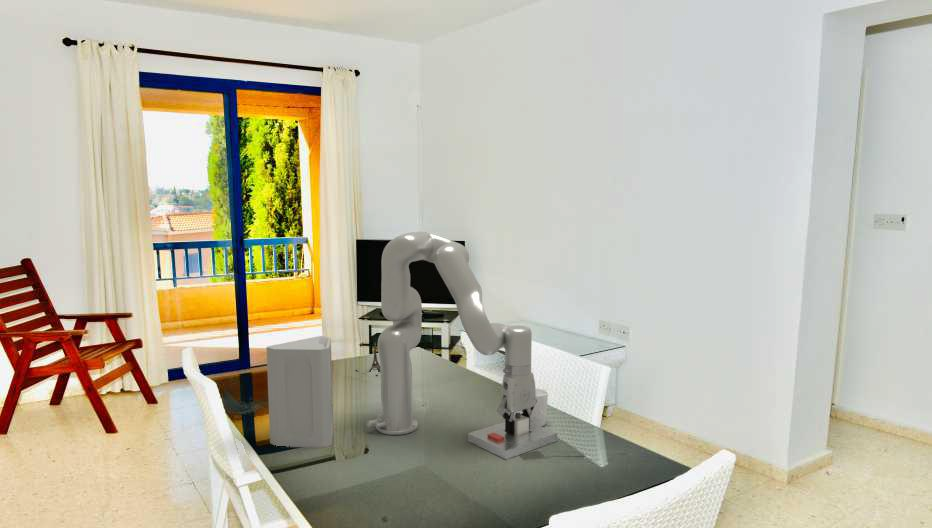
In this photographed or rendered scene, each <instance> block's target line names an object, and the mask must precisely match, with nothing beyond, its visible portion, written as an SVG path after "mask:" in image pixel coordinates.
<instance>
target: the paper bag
mask: <svg viewBox="0 0 932 528" xmlns="http://www.w3.org/2000/svg"><path fill="white" fill-rule="evenodd" d="M332 361H333V360H332V338H331V337H329V336H326V335H318V336H313V337H308V338H303V339H298V340H294V341H287V342H284V343H278V344H273V345H268V346H266V367H267V368H266V369H267V372H266V373H267V392H268V393H267V394H268V395H267V396H268V423H269V425H268V426H269V443H270V445H273V446H275V445H276V446H275V447H277V446H286V447H285V448H321V449H322V448H325V447H329V446H332V445H333V434H334V410H333V409H334V405H333V403H334V402H333V372H332V371H333V369H332V367H333V366H332V363H333V362H332ZM289 446H290V447H289Z"/></svg>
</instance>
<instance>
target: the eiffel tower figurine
mask: <svg viewBox="0 0 932 528" xmlns="http://www.w3.org/2000/svg"><path fill="white" fill-rule="evenodd" d="M373 346H374V351H373V361H372V363H371V367H370V369H369V370H368V372H371V370H372V369H373V370H374V369H375V370H378V372H380V362H379V361H378V356H377V345H376V342H374V345H373Z"/></svg>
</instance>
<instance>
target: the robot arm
mask: <svg viewBox="0 0 932 528" xmlns="http://www.w3.org/2000/svg"><path fill="white" fill-rule="evenodd" d="M469 253H470V252H469V251H468V249H467V248H466V246H464V245H463V244H461V243H459V242H456V241H454V240H450V239H447V238H444V237H441V236H438V235H435V234H433V233H430V232H426V231H415V232H406V233H403V234H400V235H398V236H396V237H394V238H393V239H391V240H390V241H389V242H388V243H387V244H386V245H385V246H384V248H383V251H382V255H381V261H380V262H381V263H380V264H381V283H380V284H381V285H380V287H381V293H380V295H381V300H380V301H381V303H380V305H381V307H380V308H381V313H382V315H383V317H384V318H385V319H386V320H388V321H390V322H392V324H391V325H389V326H388V327H386V328H385V329H383V330H382V331H381V333H380V334H379V336H378V339H377V352H378V358H379V365H380V373H379V374H381V375H380V404H381V405H380V406H381V407H380V408H381V409H380V410H381V413H378V414H377V417H376V418H375V419H370V420H367V421H366V426H367V427H368V428H373V427H375V428H376V431H378V432H379V433H381V434H384V435H392V436H397V435H399V436H400V435H405V434H410V433H413V432H414V431H416V430H417V429H418V427H419V422H418V421H417V420H416V419H414V415H413V414H414V413H413V411H414V410H413V409H414V408H413V406H414V405H413V404H414V403H413V401H414V400H413V395H414V394H413V365H412V360H411V353H410V351H411V350H413V349H414V348H416V347H417V346H418V344H419V343H420V341H421V338H422V323H423V322H422V321H423V320H422V319H423V318H422V317H423V316H422V315H423V314H422V312H423V311H422V309H423V308H422V299H421V296H420V294H419V292H418V291H417V290H416V289H415V288H414V287H413V286H411V273H410V268H409V265H410V264H411V263H412V262H417V261H426V262H428V263H433V264H434V265H435V268H436V270H437V272H438V274H439V275H440V277H441V278H442V280H443V283H444V284H445V286H446V287H447V289H448V291H449V293H450V295H451V296H452V298H453V300H454V302H455V305H456V306H455V307H456V309H457V313H458V316H459V319H460V322H461V325H462V327H463V330H464V331H465V333H466V335H467V336H468V339H469V340H470V342H471V344H472V346H473V347H474V349H475V350H476V351H477V352H478V353H480V355H481V354H482V355H484V356H492V355H495V354H496V353H497V352H498V351H499V350H500V349H504V368H503V369H502V372H503V373H504V375H503V379H502V383H501V392H500V404H499V405H498V407H497V409H496V412H497V413H498V414H499V415H501V417H503V420H504V422H505V432H507V433H509V434H511V435H513V434H514V421H513V417H514V415H515V413H519V412H520V411H521V412H520V413H521V415H523V416H525V417H528V418H529V429H530V416H531V414H532V410H533V408H534V406H535V405H536V403H537V401H538V400H537V399H536V390H535V388H536V381H535V375H534V373H533V372H532V343H533V342H532V340H533V339H532V338H533V337H532V335H533V333H532V330H531V328H530V327H528V326H525V325H508V324H503V323H498V322H490V320H489V319H488V317H487V314H486V312H485V309H484V305H483V291H482V288H481V285H480V283H479V281H478V279H477V278H476V276H475V274H474V273H473V271H472V268H471V267H470V265H469V261H470V254H469Z"/></svg>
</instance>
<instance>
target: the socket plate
mask: <svg viewBox="0 0 932 528" xmlns="http://www.w3.org/2000/svg"><path fill="white" fill-rule="evenodd" d="M558 434H559V433H558V432H557V431H554V430H551V429H549V428H546V427H544V426H539V425H536V424H534V423H531V422H530V429H529V433H528V434H525V435H522V436H519V437H516V436H514V435H511V434H509V433H507V432H505V421H504V422H501V423H497V424H493V425H491V426H488V427H487V426H486V427H484V428H480V429H477V430H474V431H471V432H469V433H467V435H468V436H467V440H468V441H467V442H469V443H471V444H472V445H475V446H477V447H479V448H480V449H484V450H485V451H487V452H490V453H491V454H493V455H496V456H498V457H500V458H502V459H504V460H509V459H511V458H514V457H517V456H520V455H522V454H525V453H528V452H530V451H534V450H537V449H539V448H542V447H544V446H547V445H550V444H553V443H555V442H558Z"/></svg>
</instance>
